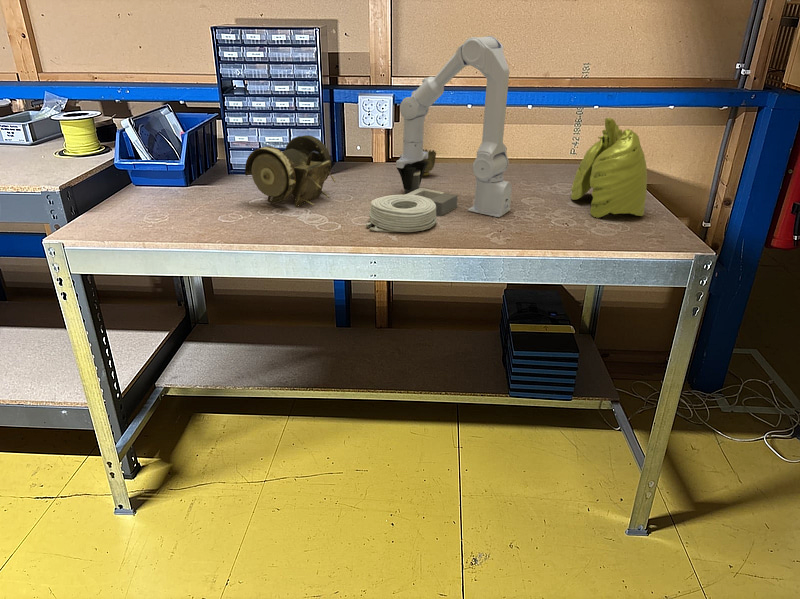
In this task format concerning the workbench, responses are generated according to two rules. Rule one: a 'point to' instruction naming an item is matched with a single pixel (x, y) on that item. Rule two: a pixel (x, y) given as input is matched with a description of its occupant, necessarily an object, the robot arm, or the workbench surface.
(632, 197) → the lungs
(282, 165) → the bench grinder
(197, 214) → the workbench surface
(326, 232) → the workbench surface
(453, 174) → the workbench surface
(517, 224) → the workbench surface
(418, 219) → the cable
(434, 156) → the olive spiky cup
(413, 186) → the knob
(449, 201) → the hollow square frame
